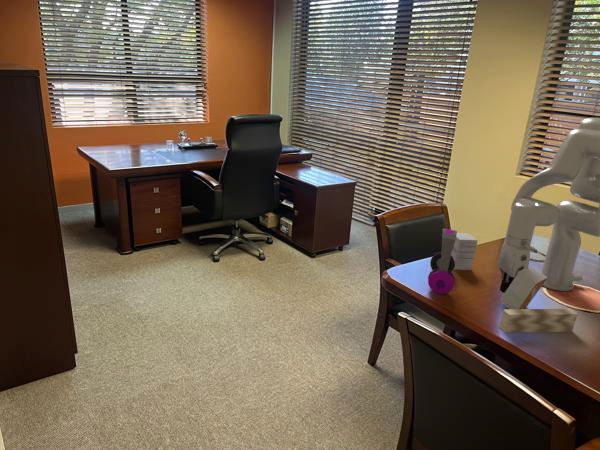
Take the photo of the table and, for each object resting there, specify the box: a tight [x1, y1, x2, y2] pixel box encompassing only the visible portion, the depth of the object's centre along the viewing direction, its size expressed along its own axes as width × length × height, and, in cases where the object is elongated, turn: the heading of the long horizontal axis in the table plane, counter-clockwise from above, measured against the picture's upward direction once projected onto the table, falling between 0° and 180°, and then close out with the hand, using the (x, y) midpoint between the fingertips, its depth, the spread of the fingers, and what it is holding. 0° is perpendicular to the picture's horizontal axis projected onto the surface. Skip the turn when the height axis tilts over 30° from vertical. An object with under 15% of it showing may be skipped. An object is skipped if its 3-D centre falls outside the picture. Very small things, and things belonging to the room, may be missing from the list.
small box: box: [499, 265, 548, 309], centre depth 142 cm, size 8×6×13 cm
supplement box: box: [451, 232, 478, 271], centre depth 173 cm, size 7×7×13 cm
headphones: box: [427, 228, 458, 295], centre depth 156 cm, size 21×9×20 cm, turn 162°
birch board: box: [498, 308, 578, 333], centre depth 133 cm, size 22×3×6 cm, turn 97°
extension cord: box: [529, 245, 546, 263], centre depth 191 cm, size 12×16×2 cm
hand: (505, 291), depth 149 cm, fingers closed
